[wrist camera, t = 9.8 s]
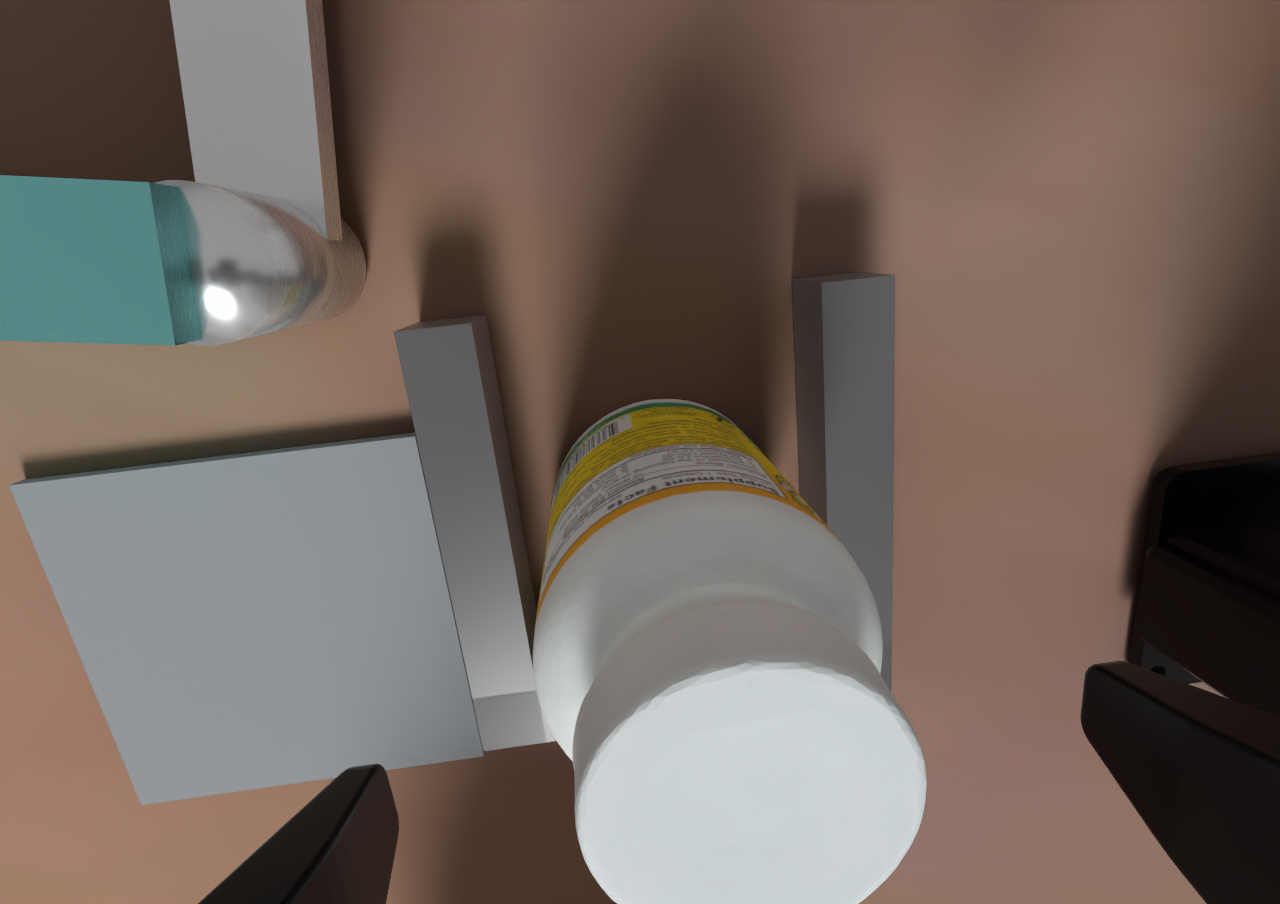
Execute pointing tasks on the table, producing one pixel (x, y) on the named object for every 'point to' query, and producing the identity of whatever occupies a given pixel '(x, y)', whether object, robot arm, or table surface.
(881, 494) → the socket block
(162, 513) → the mat
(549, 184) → the table surface
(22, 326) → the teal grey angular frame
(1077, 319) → the table surface
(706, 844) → the supplement bottle
